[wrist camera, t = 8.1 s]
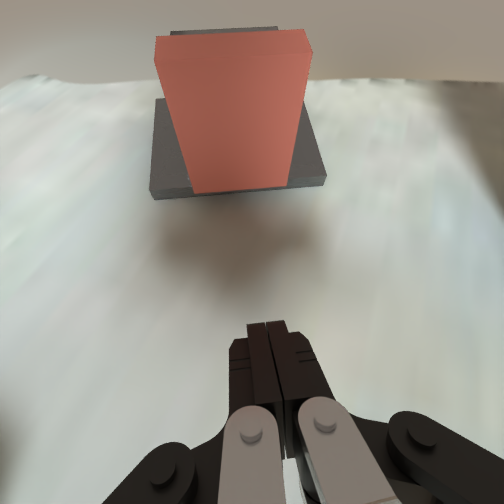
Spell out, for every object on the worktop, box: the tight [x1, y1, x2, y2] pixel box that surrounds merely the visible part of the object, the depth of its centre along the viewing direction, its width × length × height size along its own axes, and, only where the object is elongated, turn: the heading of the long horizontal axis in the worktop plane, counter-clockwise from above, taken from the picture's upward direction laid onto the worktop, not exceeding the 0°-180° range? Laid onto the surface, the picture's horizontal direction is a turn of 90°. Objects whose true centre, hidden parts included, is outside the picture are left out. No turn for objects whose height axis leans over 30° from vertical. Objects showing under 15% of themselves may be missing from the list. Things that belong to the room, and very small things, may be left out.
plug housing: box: [149, 26, 327, 200], centre depth 21 cm, size 14×11×6 cm
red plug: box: [154, 29, 313, 194], centre depth 17 cm, size 7×9×9 cm
